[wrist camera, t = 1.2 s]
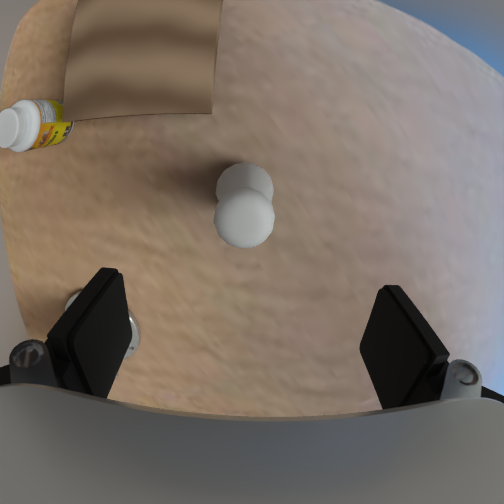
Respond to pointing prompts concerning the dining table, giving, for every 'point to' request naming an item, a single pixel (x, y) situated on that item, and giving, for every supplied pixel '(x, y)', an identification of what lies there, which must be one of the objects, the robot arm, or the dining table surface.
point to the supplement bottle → (33, 125)
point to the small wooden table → (141, 58)
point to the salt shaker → (244, 205)
